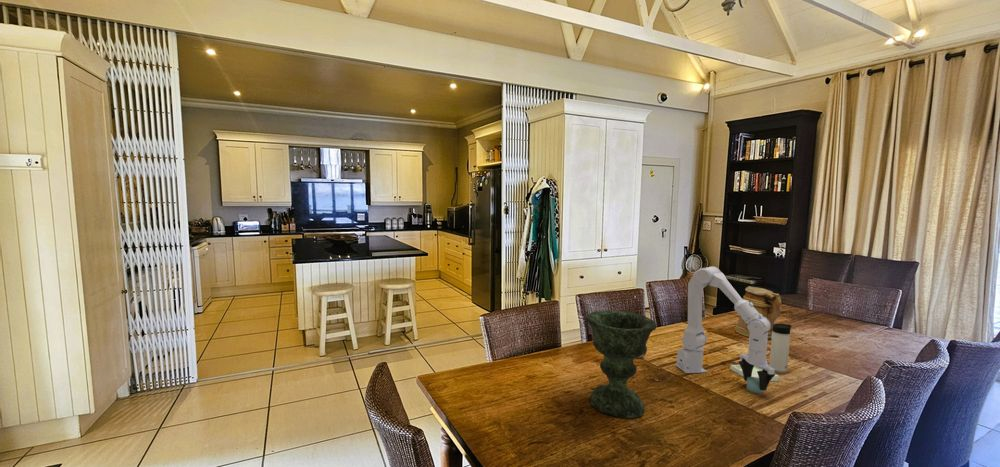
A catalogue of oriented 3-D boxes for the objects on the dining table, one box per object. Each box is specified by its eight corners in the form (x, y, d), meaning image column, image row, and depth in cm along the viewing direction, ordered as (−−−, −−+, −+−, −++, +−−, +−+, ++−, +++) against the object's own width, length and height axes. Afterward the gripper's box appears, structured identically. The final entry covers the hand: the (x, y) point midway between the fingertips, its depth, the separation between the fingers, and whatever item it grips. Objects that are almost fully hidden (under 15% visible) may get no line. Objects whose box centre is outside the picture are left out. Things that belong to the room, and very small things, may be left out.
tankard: (752, 327, 229) (756, 284, 227) (793, 342, 207) (797, 294, 205) (727, 330, 224) (730, 285, 222) (765, 344, 202) (769, 295, 200)
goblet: (604, 426, 125) (608, 331, 123) (572, 392, 147) (575, 311, 144) (665, 417, 131) (670, 327, 128) (626, 386, 153) (629, 308, 150)
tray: (751, 382, 158) (752, 377, 158) (730, 369, 170) (730, 365, 170) (779, 381, 160) (779, 376, 160) (755, 368, 172) (756, 363, 172)
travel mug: (791, 374, 166) (794, 327, 165) (773, 372, 168) (776, 325, 166) (783, 368, 173) (787, 322, 171) (766, 366, 174) (770, 321, 172)
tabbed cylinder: (753, 393, 149) (754, 383, 149) (743, 387, 154) (743, 377, 154) (770, 392, 150) (771, 382, 150) (759, 386, 155) (760, 376, 155)
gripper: (783, 356, 144) (780, 393, 145) (752, 342, 158) (750, 376, 159) (765, 357, 143) (762, 394, 144) (736, 343, 157) (733, 376, 158)
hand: (755, 385), depth 152 cm, fingers open, 7 cm apart
